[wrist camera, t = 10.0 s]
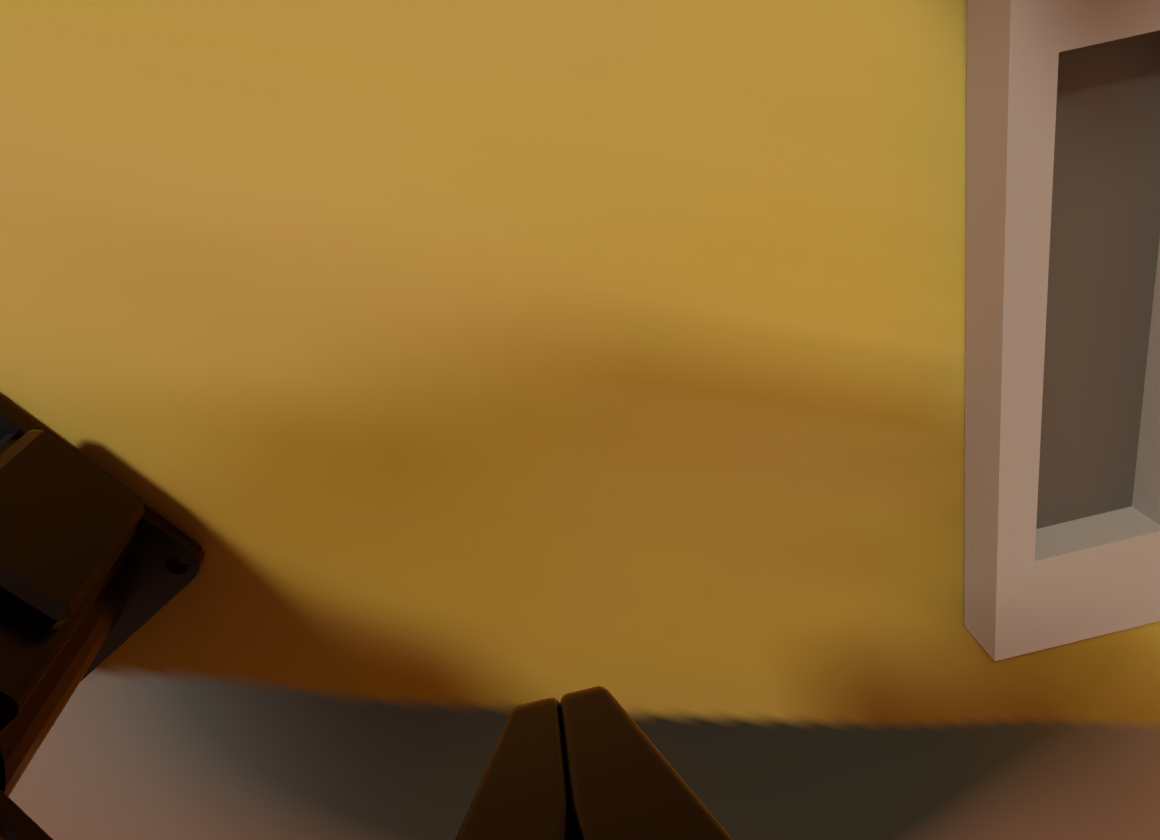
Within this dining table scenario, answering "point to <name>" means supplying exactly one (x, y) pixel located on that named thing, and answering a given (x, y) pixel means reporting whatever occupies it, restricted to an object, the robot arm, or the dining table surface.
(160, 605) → the robot arm
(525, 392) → the dining table surface
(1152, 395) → the board
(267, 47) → the dining table surface
